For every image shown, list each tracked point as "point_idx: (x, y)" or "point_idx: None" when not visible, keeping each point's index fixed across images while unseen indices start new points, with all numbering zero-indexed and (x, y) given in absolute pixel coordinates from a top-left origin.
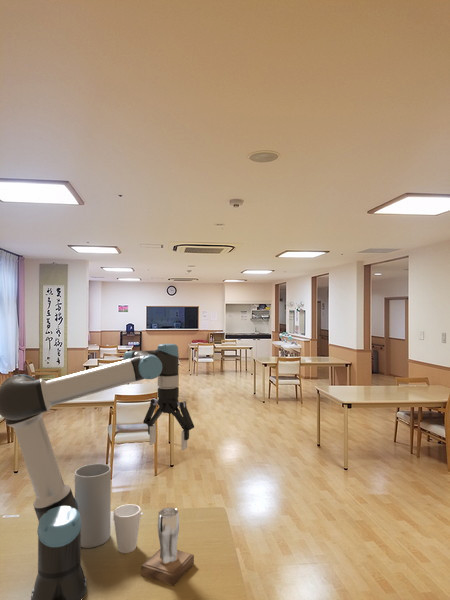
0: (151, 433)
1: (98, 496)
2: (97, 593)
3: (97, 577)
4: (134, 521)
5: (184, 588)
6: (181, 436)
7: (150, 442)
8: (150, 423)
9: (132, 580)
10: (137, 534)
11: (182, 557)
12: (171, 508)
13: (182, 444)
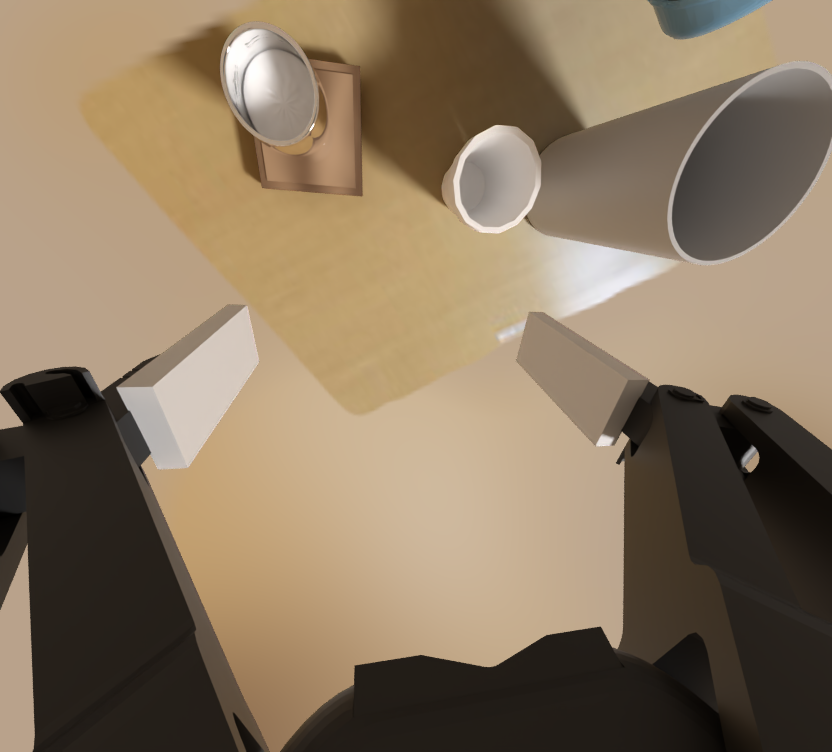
0: (578, 348)
1: (629, 136)
2: None
3: (467, 9)
4: (453, 163)
5: (217, 62)
6: (190, 351)
7: (544, 317)
8: (670, 403)
9: (369, 38)
10: (445, 196)
11: (277, 157)
12: (288, 140)
13: (217, 320)
